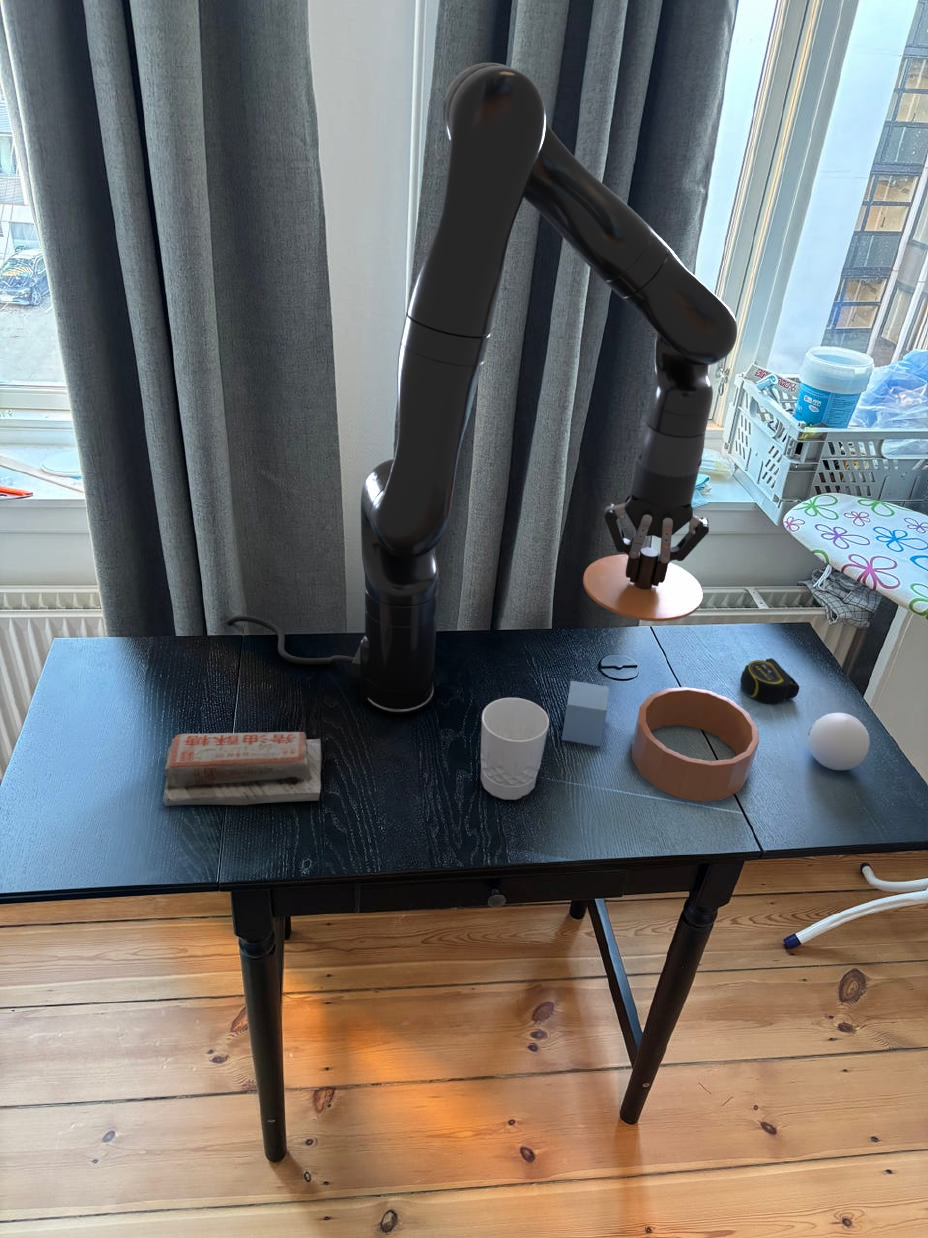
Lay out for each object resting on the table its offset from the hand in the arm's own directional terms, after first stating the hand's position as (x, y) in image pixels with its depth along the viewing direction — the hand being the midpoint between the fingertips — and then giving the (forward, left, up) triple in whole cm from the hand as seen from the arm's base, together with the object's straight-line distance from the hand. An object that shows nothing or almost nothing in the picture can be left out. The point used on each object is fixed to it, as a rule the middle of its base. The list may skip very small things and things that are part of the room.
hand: (643, 580), depth 126 cm
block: (-5, -13, -17) cm, 22 cm away
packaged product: (-44, -31, -17) cm, 56 cm away
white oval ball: (+27, -9, -17) cm, 33 cm away
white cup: (-13, -24, -17) cm, 32 cm away
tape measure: (+20, +3, -17) cm, 26 cm away
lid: (0, 0, -1) cm, 1 cm away
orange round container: (+9, -15, -17) cm, 24 cm away
